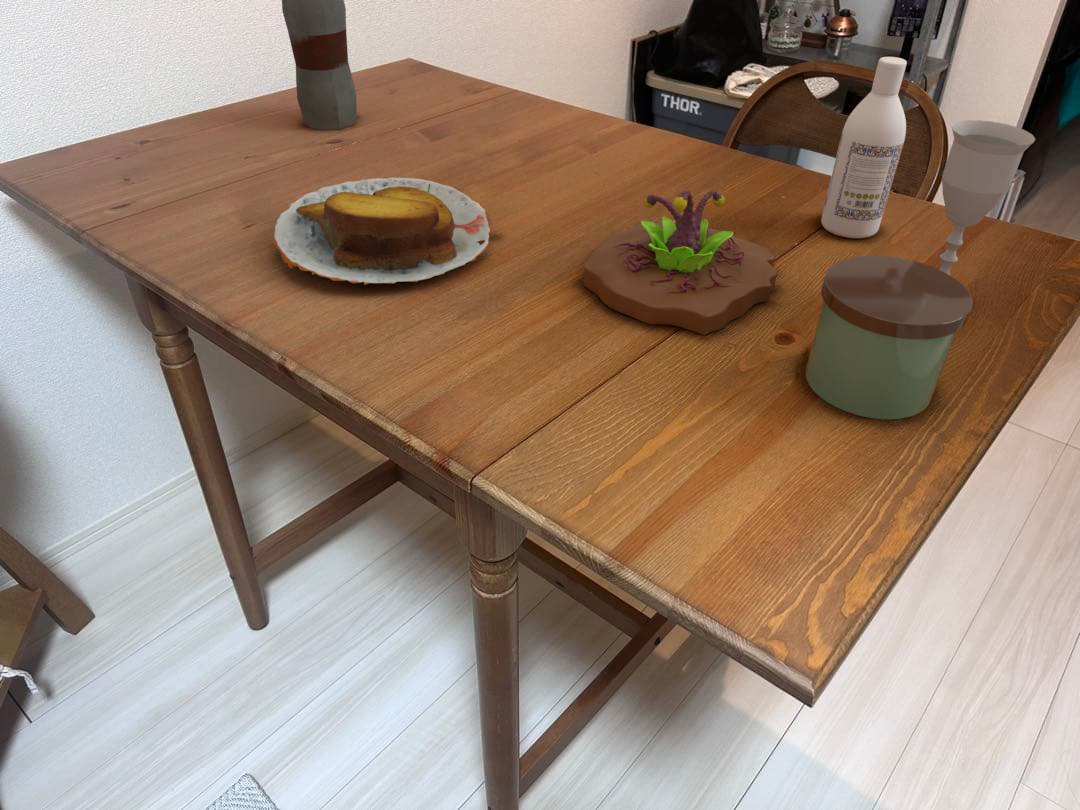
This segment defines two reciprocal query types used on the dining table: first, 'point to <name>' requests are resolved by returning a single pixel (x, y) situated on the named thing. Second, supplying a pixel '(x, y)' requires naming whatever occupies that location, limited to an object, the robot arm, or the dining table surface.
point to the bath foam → (867, 157)
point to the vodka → (321, 62)
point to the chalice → (978, 174)
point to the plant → (680, 269)
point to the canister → (884, 335)
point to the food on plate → (382, 230)
